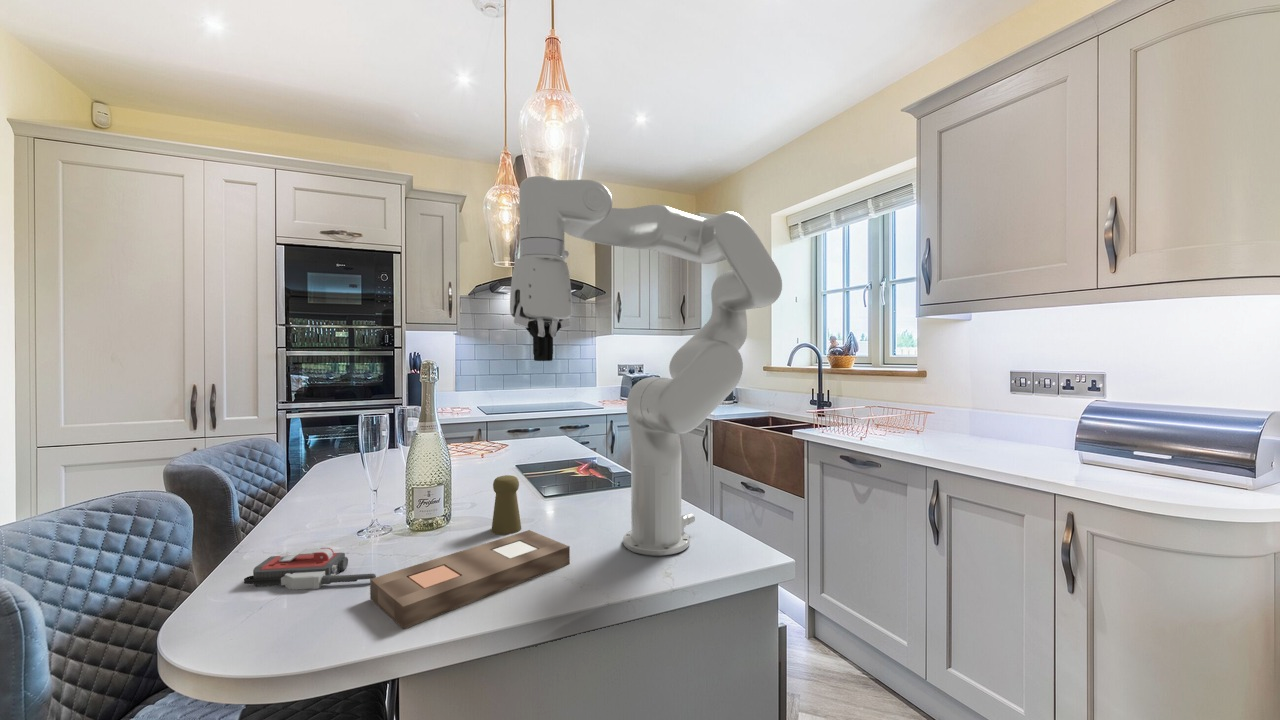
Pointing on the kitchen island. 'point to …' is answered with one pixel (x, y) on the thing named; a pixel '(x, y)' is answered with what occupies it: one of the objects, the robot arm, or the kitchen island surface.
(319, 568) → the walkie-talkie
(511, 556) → the off-white key
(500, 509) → the cork
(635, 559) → the kitchen island surface
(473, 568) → the block
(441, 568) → the terracotta key
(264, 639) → the kitchen island surface
